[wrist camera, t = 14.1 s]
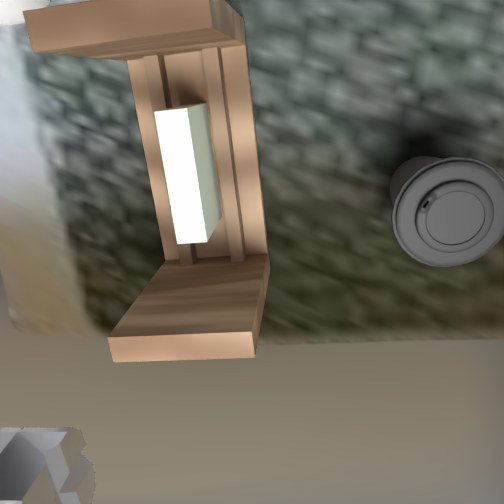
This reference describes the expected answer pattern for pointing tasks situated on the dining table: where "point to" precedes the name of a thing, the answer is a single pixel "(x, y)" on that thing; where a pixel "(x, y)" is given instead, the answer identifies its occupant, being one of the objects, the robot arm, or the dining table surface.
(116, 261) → the dining table surface
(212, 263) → the track frame
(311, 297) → the dining table surface
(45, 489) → the robot arm
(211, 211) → the door panel
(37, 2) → the sauce bottle
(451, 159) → the coffee cup
